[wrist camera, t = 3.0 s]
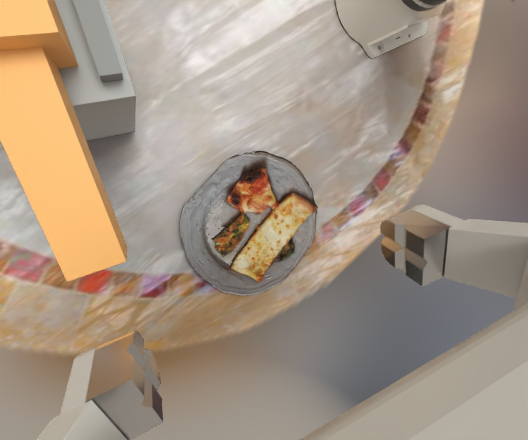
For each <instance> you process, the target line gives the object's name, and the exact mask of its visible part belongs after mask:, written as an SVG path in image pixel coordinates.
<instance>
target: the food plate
mask: <svg viewBox="0 0 528 440" xmlns="http://www.w3.org/2000/svg"><path fill="white" fill-rule="evenodd" d="M215 190H216V191H215ZM224 190H225V192H223V191H224ZM218 196H220V197H219V199H217V198H218ZM222 197H224V199H222ZM215 198H216V199H215ZM214 200H216V202H215V203H213V202H214ZM220 200H221V201H220ZM223 200H224V202H223ZM188 201H189V200H188ZM188 201H187V202H188ZM187 202H186V203H185V204H184V208H183V210H182V214H181V218H180V235H181V239H182V242H183V245H184V249H185V253H186V257H187V259H188V260H189V262H190V264H191V265H192V267H193V268H194V270H195V271H196V273H198V274H199V275H200V276H201V277H202V278H203V279H204V280H206V281H207V282H208V283H210V284H211V285H212V286H214V287H215V288H217V289H218V290H220V291H221V292H223V293H227V294H236V295H239V296H240V295H241V296H242V295H247V296H248V295H254V294H255V295H256V294H259V293H262V292H265V291H268V290H269V289H270V288H272V287H274V286H277V285H278V284H279V283H280V284H281V283H282V282H281V281H282V280H283V279H284V280H285V279H286V278H287V277H288V274H290V273H291V272H292V271H293V270H294V268H295V267H296V266H297V264H298V263H299V262H300V261H301V259H302V258H303V257H304V255H305V254H306V252H307V251H308V248H310V247H311V244H312V242H313V239H314V235H315V229H316V214H317V208H318V207H317V205H316V204H315V201H314V198H313V192H312V189H311V188H310V187H309V184H308V182H307V181H306V179H305V178H304V176H303V174H302V173H301V171H300V170H299V169H298V168H297V167H296V166H295V165H293V164H292V162H290V161H288V160H286V159H284V158H282V157H279V156H275V155H273V154H270V153H268V152H265V151H256V152H255V153H244V154H243V155H235V156H233V157H231V158H229V159H227V160H226V161H224V162H223V164H222V165H221V166H220V167H219V168H218V169H217V170H216V172H215V173H214V174H213V175H212V176H211V177H210V178H209V179H208V180H207V181H206V182H205V183H204V184H203V186H202V187H201V188H200V189H199V190H197V192H196V193H195V194H194V195H193V198H191V199H190V201H189V202H188V203H187ZM212 203H213V205H212ZM217 203H220V204H221V203H223V204H224V205H223V206H221V207H220V208H221V209H222V210H224V211H222V212H221V214H220V215H216V216H215V218H214V219H219V218H220V217H221V222H223V223H222V224H221V227H225V228H224V229H223V230H222V231H221V232H220V233H218V234H217V235H216V236H215V237H214V238H212V240H214V243H215V248H216V250H217V251H218V252H220V253H221V254H222V257H224V256H225V255H227V254H230V253H231V252H232V251H233V250H234V248H235V247H236V245H237V244H239V242H240V241H241V240H242V239H243V238H245V239H246V240H244V241H243V243H242V245H241V247H240V248H239V250H238V251H237V252H236V253H237V254H236V255H235V257H234V259H233V260H232V261H233V263H232V264H231V266H229V265H228V264H226V263H225V262H224V261H223V260H221V258H219V257H218V256H217V255H216V254H214V253H213V252H212V249H211V248H210V246H209V245H210V244H209V243H208V241H207V240H208V237H207V236H206V234H205V233H206V229H208V228H207V227H206V223H208V222H209V220H210V217H211V215H207V214H208V213H212V214H213V212H210V211H211V208H212V207H213V210H214V209H215V208H216V205H215V204H217ZM220 204H218V205H217V206H220ZM214 205H215V206H214ZM224 207H225V209H224ZM225 216H226V217H225ZM233 217H234V218H233ZM231 221H232V222H231ZM255 221H256V222H255ZM215 226H216V225H215ZM218 229H220V228H218ZM208 235H210V234H208ZM247 241H248V242H247ZM302 256H303V257H302ZM286 276H287V277H286ZM285 277H286V278H285ZM284 280H283V281H284ZM280 284H279V285H280Z"/></svg>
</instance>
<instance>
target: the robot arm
mask: <svg viewBox="0 0 528 440" xmlns="http://www.w3.org/2000/svg"><path fill="white" fill-rule="evenodd" d="M446 1H447V0H336V7H337V11H338V15H339V18H340V20H341V23H342V25H343V27H344V28H345V30H346V31H347V33H348V34H349V35H350V36H351V37H352V38H353V39H354V40H355V41H357V42H358V43H359V44H361V45H362V47H363V48H364V50H365V52H366V53H367V55H368V56H369V57H370V58H375V57H377V56H379V55H381V54H384V53H386V52H388V51H390V50H393V49H395V48H397V47H399V46H401V45H404V44H406V43H408V42H410V41H412V40H415V39H417V38H419V37H421V36H423V35H424V34H425V33H426V31H427V29H428V25H429V21H430V19H431V18H434V17H436V16H438V15H439V14H440V13H441V12H442V10H443V8H444V6H445V2H446ZM380 229H381V233H382V234H383V235H384V238H383V240H382V242H381V250H382V253H383V255H384V257H385V259H386V260H387V262H388V263H389V264H391V265H392V266H393V267H395V268H399V269H403V270H404V271H405V275H406V276H408V277H409V278H411V279H412V280H413V281H415V282H417V283H418V284H419V285H421V286H425V285H427V284H429V283H431V282H433V281H435V280H437V279H439V278H441V277H443V276H444V278H447V279H451V280H454V281H458V282H461V283H465V284H468V285H472V286H475V287H479V288H482V289H486V290H489V291H493V292H497V293H500V294H503V295H507V296H510V297H514V298H517V300H516V304H515V308H514V311H513V312H511V313H510V314H508V315H506V316H505V317H503V318H501V319H500V320H498V321H496V322H495V323H493V324H491V325H490V326H488V327H486V328H485V329H483V330H481V331H480V332H478V333H476V334H475V335H473V336H471V337H470V338H468V339H467V340H465V341H463V342H461V343H460V344H458V345H456V346H455V347H453V348H451V349H450V350H448V351H447V352H445V353H443V354H441V355H440V356H438V357H437V358H435V359H433V360H432V361H430V362H428V363H426V364H425V365H423V366H421V367H420V368H419V369H416V370H415V371H413V372H412V373H410V374H408V375H406V376H405V377H403V378H401V379H400V380H398V381H397V382H395V383H393V384H391V385H390V386H388V387H387V388H385V389H383V390H381V391H380V392H378V393H377V394H375V395H373V396H372V397H370V398H368V399H367V400H365V401H363V402H362V403H360V404H358V405H357V406H355V407H353V408H352V409H350V410H348V411H347V412H345V413H343V414H342V415H340V416H339V417H337V418H335V419H334V420H332V421H330V422H328V423H327V424H325V425H323V426H322V427H320V428H318V429H317V430H315V431H313V432H312V433H310V434H309V435H307V436H305V437H303V438H302V439H300V440H528V223H518V222H504V221H488V220H475V219H468V220H466V221H464V220H462V219H459V218H457V217H454V216H452V215H449V214H447V213H444V212H442V211H439V210H437V209H434V208H432V207H429V206H427V205H422V204H419V205H417V206H414V207H412V208H411V209H408V210H407V211H405V212H402V213H400V214H398V215H396V216H393V217H391V218H389V219H387V220H385V221H382V223H381V226H380ZM160 384H161V381H160V372H159V368H158V364H157V361H156V359H155V357H154V355H153V353H152V352H151V350H149V349H145V348H144V339H143V338H142V336H141V335H140V333H139V332H138V331H133V332H131V333H128V334H126V335H124V336H121V337H119V338H116V339H114V340H112V341H109V342H107V343H104V344H102V345H100V346H98V347H96V348H93V349H91V350H88V351H86V352H84V353H81V354H79V355H78V356H77V357H76V358H75V359H74V362H73V365H72V369H71V373H70V377H69V381H68V384H67V388H66V392H65V396H64V400H63V404H62V408H61V411H60V415H59V416H57V417H55V418H53V419H52V420H51V421H50V423H49V424H48V425H47V427H46V428H45V429H44V430H43V432H42V433H41V434H40V436H39V437H38V438H37V440H132V439H134V438H136V437H137V436H139V435H141V434H143V433H145V432H147V431H148V430H150V429H152V428H153V427H156V426H157V425H159V424H161V423H163V412H162V398H161V396H160V395H159V393H158V392H157V389H158V387H159V385H160Z"/></svg>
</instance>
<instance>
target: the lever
mask: <svg viewBox="0 0 528 440" xmlns="http://www.w3.org/2000/svg"><path fill="white" fill-rule="evenodd" d="M76 66H79V65H78V63H77V60H76V57H75V55H74V52H73V49H72V46H71V44H70V41H69V38H68V36H67V33H66V30H65V27H64V25H63V22H62V19H61V16H60V14H59V11H58V8H57V6H56V3H55V0H0V140H1V143H2V145H3V147H4V149H5V151H6V153H7V155H8V157H9V160H10V162H11V164H12V166H13V168H14V170H15V172H16V174H17V176H18V179H19V181H20V183H21V185H22V187H23V189H24V191H25V193H26V195H27V198H28V200H29V202H30V204H31V206H32V208H33V210H34V212H35V215H36V217H37V219H38V221H39V223H40V225H41V227H42V229H43V231H44V234H45V236H46V238H47V240H48V242H49V244H50V246H51V248H52V251H53V253H54V255H55V257H56V259H57V261H58V263H59V265H60V267H61V270H62V272H63V274H64V276H65V278H66V280H67V281H70V280H73V279H76V278H79V277H82V276H85V275H88V274H91V273H94V272H97V271H100V270H103V269H106V268H109V267H112V266H114V265H117V264H120V263H123V262H126V258H127V245H126V242H125V240H124V237H123V235H122V232H121V229H120V227H119V224H118V222H117V219H116V217H115V214H114V211H113V209H112V206H111V204H110V201H109V199H108V196H107V193H106V191H105V188H104V186H103V183H102V180H101V178H100V175H99V173H98V170H97V168H96V165H95V162H94V160H93V157H92V155H91V152H90V149H89V147H88V144H87V142H86V139H85V137H84V134H83V131H82V129H81V126H80V124H79V121H78V119H77V116H76V113H75V111H74V108H73V106H72V103H71V100H70V98H69V95H68V93H67V90H66V88H65V85H64V82H63V80H62V77H61V75H60V72H59V68H68V67H76Z"/></svg>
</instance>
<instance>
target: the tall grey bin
mask: <svg viewBox="0 0 528 440" xmlns="http://www.w3.org/2000/svg"><path fill="white" fill-rule="evenodd" d="M55 3H56V6H57V8H58V11H59V14H60V16H61V19H62V22H63V25H64V27H65V30H66V33H67V36H68V38H69V41H70V44H71V46H72V49H73V52H74V55H75V57H76V60H77V63H78V65H79V66H76V67H68V68H59V72H60V75H61V77H62V80H63V82H64V85H65V88H66V90H67V93H68V95H69V98H70V100H71V103H72V106H73V108H74V111H75V113H76V116H77V119H78V121H79V124H80V126H81V129H82V131H83V134H84V137H85V139H86V141H89V140H94V139H99V138H104V137H109V136H114V135H119V134H124V133H129V132H135V102H136V95H135V92H134V89H133V86H132V83H131V80H130V77H129V74H128V70H127V67H126V64H125V61H124V58H123V55H122V52H121V49H120V46H119V43H118V40H117V36H116V33H115V30H114V27H113V24H112V21H111V18H110V15H109V12H108V9H107V6H106V3H105V0H55Z"/></svg>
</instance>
